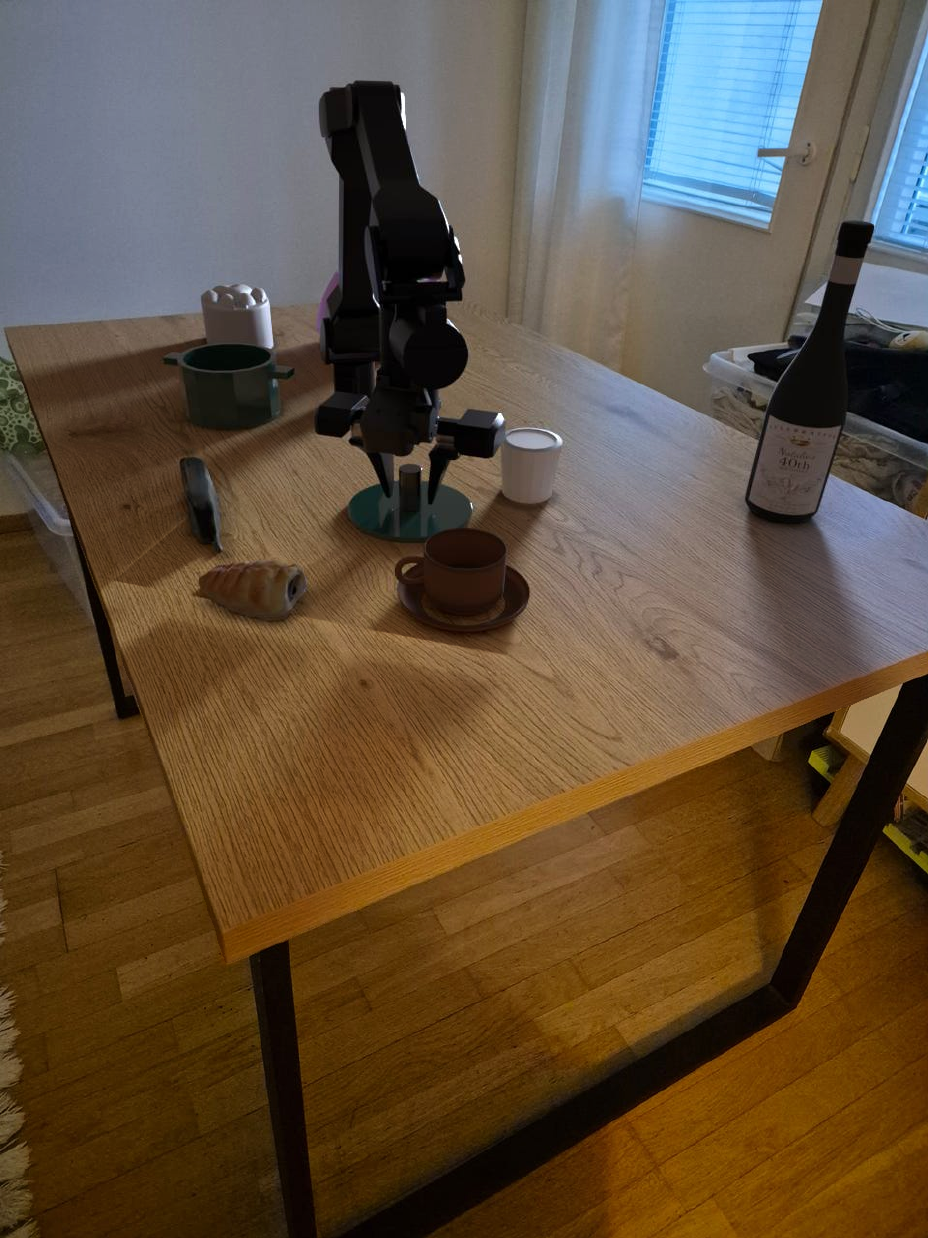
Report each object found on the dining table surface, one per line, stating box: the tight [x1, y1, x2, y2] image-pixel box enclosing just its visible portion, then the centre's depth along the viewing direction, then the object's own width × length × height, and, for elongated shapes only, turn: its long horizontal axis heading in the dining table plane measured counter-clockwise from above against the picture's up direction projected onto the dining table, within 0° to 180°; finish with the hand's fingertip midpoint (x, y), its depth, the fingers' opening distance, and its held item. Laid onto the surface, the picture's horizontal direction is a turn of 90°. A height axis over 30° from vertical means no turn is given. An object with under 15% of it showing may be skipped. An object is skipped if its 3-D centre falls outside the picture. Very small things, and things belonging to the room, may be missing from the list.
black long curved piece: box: [179, 456, 224, 554], centre depth 87 cm, size 5×3×15 cm
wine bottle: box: [744, 219, 875, 524], centre depth 87 cm, size 8×8×30 cm
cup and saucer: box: [394, 527, 531, 633], centre depth 76 cm, size 12×12×6 cm
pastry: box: [197, 557, 308, 622], centre depth 76 cm, size 9×7×4 cm
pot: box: [162, 343, 296, 430], centre depth 112 cm, size 12×18×8 cm
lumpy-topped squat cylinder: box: [200, 283, 274, 350], centre depth 136 cm, size 10×13×9 cm
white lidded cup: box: [499, 427, 563, 505], centre depth 95 cm, size 7×7×7 cm
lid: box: [347, 463, 474, 543], centre depth 90 cm, size 13×13×6 cm
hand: (410, 499), depth 90 cm, fingers open, 4 cm apart
